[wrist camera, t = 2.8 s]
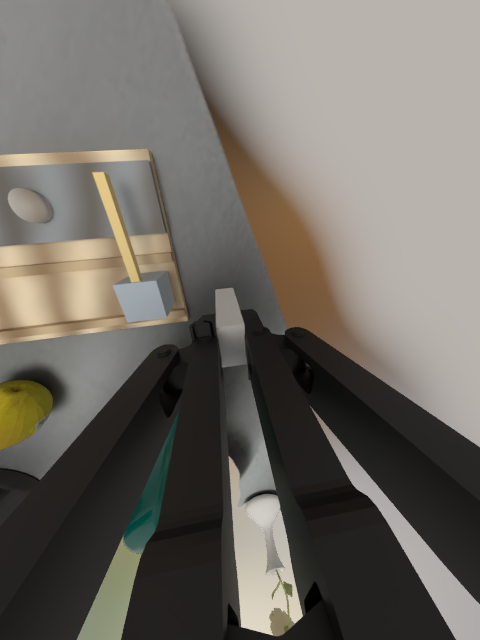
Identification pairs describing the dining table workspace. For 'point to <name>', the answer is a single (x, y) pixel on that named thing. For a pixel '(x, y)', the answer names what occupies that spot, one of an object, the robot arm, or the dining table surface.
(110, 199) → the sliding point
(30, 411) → the lemon
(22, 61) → the dining table surface
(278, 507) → the flower in vase
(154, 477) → the pitcher
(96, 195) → the gauge board
